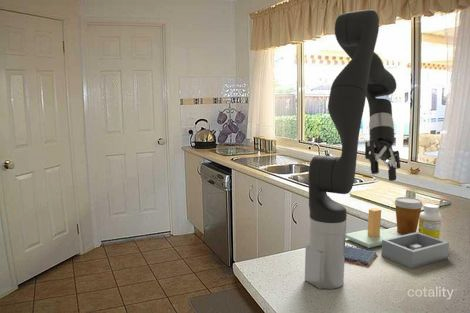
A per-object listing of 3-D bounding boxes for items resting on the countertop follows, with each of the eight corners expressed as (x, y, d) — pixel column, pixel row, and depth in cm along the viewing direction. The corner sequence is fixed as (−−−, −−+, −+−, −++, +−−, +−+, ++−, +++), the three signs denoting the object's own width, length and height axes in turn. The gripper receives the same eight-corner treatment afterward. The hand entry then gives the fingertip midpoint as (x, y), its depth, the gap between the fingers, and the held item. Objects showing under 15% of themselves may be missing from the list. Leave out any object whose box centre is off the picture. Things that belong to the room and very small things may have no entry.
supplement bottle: (420, 237, 136) (423, 202, 134) (441, 242, 132) (444, 205, 130) (415, 243, 131) (417, 206, 129) (437, 247, 127) (439, 209, 125)
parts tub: (412, 268, 111) (413, 252, 110) (381, 255, 120) (382, 239, 119) (447, 258, 118) (449, 242, 117) (416, 246, 128) (417, 231, 127)
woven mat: (333, 261, 117) (333, 254, 117) (344, 250, 126) (345, 244, 126) (369, 269, 112) (369, 262, 111) (378, 257, 120) (378, 250, 120)
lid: (368, 251, 125) (370, 217, 123) (344, 240, 134) (345, 208, 133) (402, 242, 132) (405, 210, 130) (377, 233, 142) (378, 203, 140)
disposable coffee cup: (424, 231, 142) (426, 199, 141) (415, 238, 136) (417, 204, 134) (398, 226, 149) (400, 195, 147) (388, 232, 142) (390, 200, 140)
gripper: (377, 119, 121) (379, 168, 115) (405, 132, 128) (408, 180, 122) (357, 126, 126) (358, 174, 121) (385, 139, 134) (387, 184, 128)
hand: (384, 177), depth 121 cm, fingers open, 8 cm apart
